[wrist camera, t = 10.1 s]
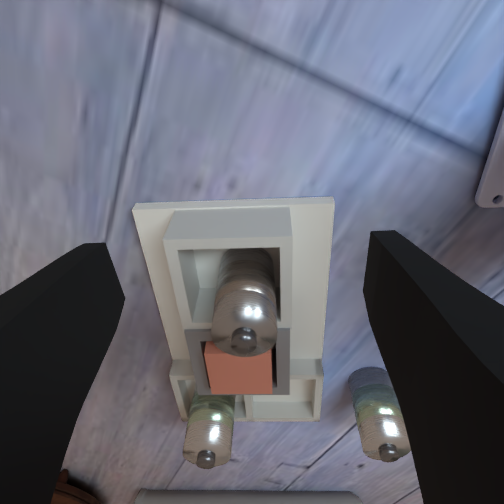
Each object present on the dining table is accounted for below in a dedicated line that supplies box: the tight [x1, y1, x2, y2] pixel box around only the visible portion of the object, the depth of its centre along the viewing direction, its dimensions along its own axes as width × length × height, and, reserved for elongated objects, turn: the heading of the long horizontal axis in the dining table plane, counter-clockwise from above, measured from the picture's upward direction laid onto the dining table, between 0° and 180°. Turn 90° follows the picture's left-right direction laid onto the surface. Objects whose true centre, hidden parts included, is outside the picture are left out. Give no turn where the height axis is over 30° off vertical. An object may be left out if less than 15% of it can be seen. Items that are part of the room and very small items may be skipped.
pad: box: [204, 341, 272, 394], centre depth 23 cm, size 4×4×3 cm
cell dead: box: [211, 248, 277, 357], centre depth 20 cm, size 3×3×6 cm
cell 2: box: [349, 367, 411, 462], centre depth 27 cm, size 3×3×6 cm
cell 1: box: [183, 383, 236, 469], centre depth 26 cm, size 3×3×6 cm
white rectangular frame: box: [132, 196, 335, 422], centre depth 24 cm, size 11×18×4 cm, turn 3°
